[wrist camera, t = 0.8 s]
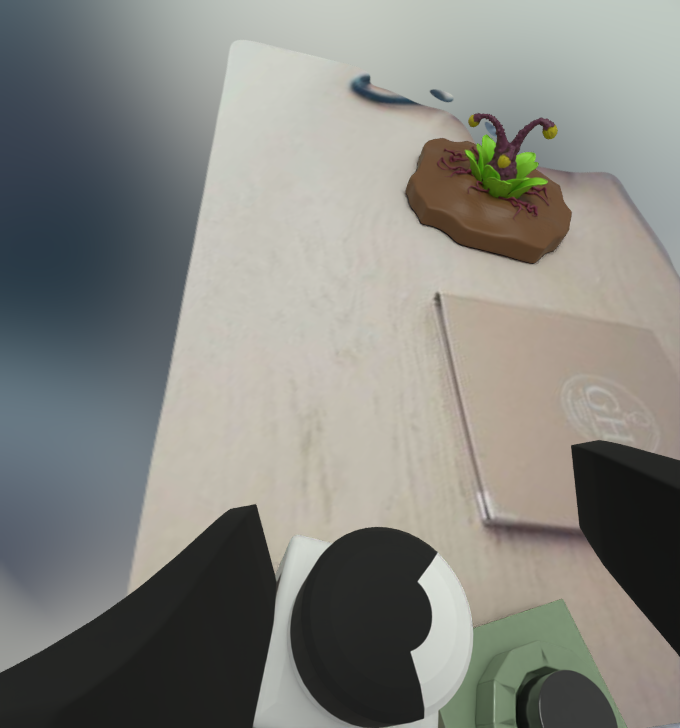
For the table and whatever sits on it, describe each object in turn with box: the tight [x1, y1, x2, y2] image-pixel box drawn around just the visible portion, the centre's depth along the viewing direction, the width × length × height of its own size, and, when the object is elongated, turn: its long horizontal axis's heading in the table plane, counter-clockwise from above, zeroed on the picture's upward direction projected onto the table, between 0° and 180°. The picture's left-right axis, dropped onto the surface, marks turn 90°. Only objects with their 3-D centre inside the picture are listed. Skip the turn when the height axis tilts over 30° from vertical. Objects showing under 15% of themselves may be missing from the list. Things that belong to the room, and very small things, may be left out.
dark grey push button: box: [518, 670, 618, 728], centre depth 24 cm, size 4×4×2 cm
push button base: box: [438, 599, 627, 728], centre depth 26 cm, size 10×10×4 cm
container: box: [253, 527, 473, 728], centre depth 23 cm, size 8×8×13 cm
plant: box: [406, 113, 572, 263], centre depth 57 cm, size 20×20×11 cm
